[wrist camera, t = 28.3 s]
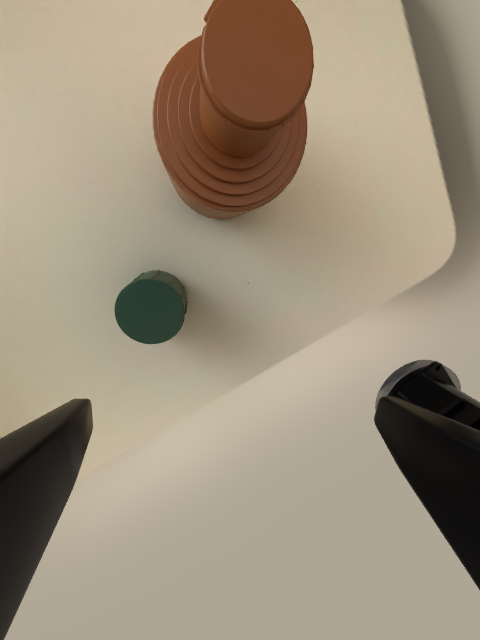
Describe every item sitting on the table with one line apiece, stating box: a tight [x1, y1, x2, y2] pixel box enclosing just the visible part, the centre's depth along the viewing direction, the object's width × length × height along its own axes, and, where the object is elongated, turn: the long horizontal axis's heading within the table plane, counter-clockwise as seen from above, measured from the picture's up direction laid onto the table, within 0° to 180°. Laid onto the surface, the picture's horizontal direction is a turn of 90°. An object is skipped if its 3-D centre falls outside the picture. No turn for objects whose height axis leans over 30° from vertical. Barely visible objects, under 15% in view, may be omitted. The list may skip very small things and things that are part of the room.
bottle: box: [153, 0, 314, 219], centre depth 12 cm, size 6×6×12 cm
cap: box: [115, 270, 187, 344], centre depth 18 cm, size 4×4×4 cm
